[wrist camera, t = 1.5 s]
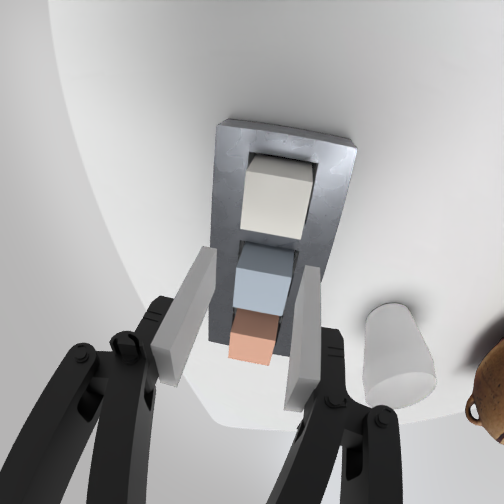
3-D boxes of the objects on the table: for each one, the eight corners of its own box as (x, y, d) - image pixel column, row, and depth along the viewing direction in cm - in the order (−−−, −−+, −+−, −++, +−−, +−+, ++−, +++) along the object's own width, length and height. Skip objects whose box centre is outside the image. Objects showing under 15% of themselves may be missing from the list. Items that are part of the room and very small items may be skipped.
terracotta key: (239, 301, 36) (230, 332, 32) (280, 309, 35) (275, 340, 31) (236, 328, 39) (228, 357, 35) (273, 335, 38) (268, 365, 34)
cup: (350, 338, 41) (354, 410, 31) (367, 292, 36) (379, 370, 26) (404, 341, 39) (417, 409, 30) (427, 297, 34) (451, 369, 25)
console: (227, 118, 27) (216, 125, 24) (350, 139, 26) (357, 148, 23) (215, 320, 43) (208, 340, 39) (296, 335, 42) (294, 357, 38)
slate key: (246, 238, 31) (236, 267, 27) (294, 247, 30) (291, 277, 26) (242, 276, 34) (232, 306, 29) (285, 284, 33) (282, 316, 29)
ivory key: (256, 154, 26) (246, 171, 22) (311, 163, 25) (312, 182, 21) (250, 203, 29) (240, 228, 24) (301, 212, 28) (300, 239, 24)
